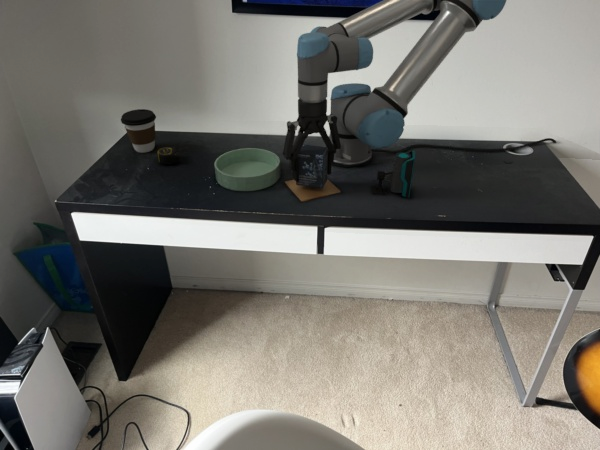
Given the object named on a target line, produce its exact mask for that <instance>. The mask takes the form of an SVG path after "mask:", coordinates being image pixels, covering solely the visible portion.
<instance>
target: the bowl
mask: <svg viewBox="0 0 600 450" xmlns="http://www.w3.org/2000/svg"><path fill="white" fill-rule="evenodd" d="M213 164H214V174H215V180H216V182H217V184H219V185H220V186H221V187H222V188H224V189H228V190H231V191H236V192H255V191H260V190H263V189H266V188H269V187H271V186H273V185H275V184H276V183H277V182H278V181H279V180H280V178H281V159H280V157H279V155H277V154H276V153H274V152H273V151H270V150H267V149H264V148H255V147H245V148H238V149H232V150H230V151H226V152H225V153H223V154H221V155H219V156H218V157H217V158H216V159H215V161H214V163H213Z"/></svg>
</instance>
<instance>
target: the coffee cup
mask: <svg viewBox="0 0 600 450" xmlns="http://www.w3.org/2000/svg"><path fill="white" fill-rule="evenodd" d="M156 118H157V115H156V114H155V113H154V111H153V110H151V109H147V108H145V109H144V108H140V109H132V110H129V111H126V112H124V113H123V114H122V115H121V117H120V122H121V124H122V125H124V128H125V131H126V134H127V136H128V138H129V141H130V143H131V144H132V147H133V149H134V151H135V152H137V153H139V154H143V153H145V154H146V153H150V152H152V151H153V150H154V149H155V146H156V123H155V120H156Z"/></svg>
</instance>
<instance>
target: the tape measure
mask: <svg viewBox="0 0 600 450" xmlns="http://www.w3.org/2000/svg"><path fill="white" fill-rule="evenodd" d="M178 150H179V149H178V148H177V147H176V146H171V147H162V148H159V149H158V150H157V151H156V154H155V155H156V161H158V163H159V164H162V165H171V164H175V163H178V162H180V160H181V158H180V154H179V151H178Z"/></svg>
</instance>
